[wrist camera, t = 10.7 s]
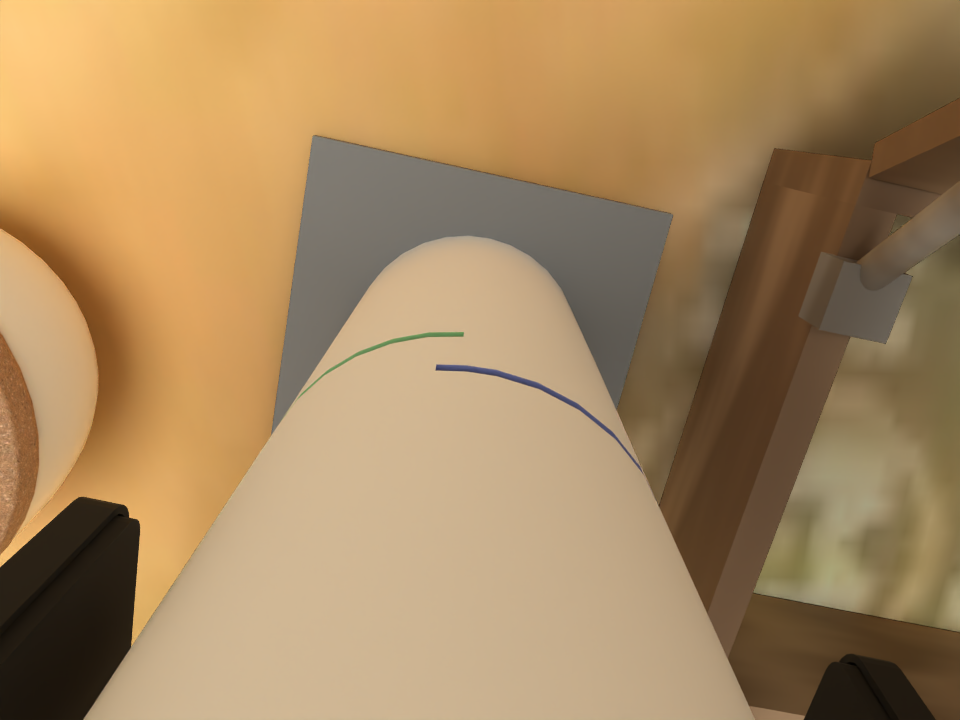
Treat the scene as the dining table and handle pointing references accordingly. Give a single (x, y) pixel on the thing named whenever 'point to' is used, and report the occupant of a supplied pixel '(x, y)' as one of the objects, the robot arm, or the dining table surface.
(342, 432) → the cylindrical container
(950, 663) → the case
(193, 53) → the dining table surface
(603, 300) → the mat
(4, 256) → the lidded jar
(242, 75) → the dining table surface
